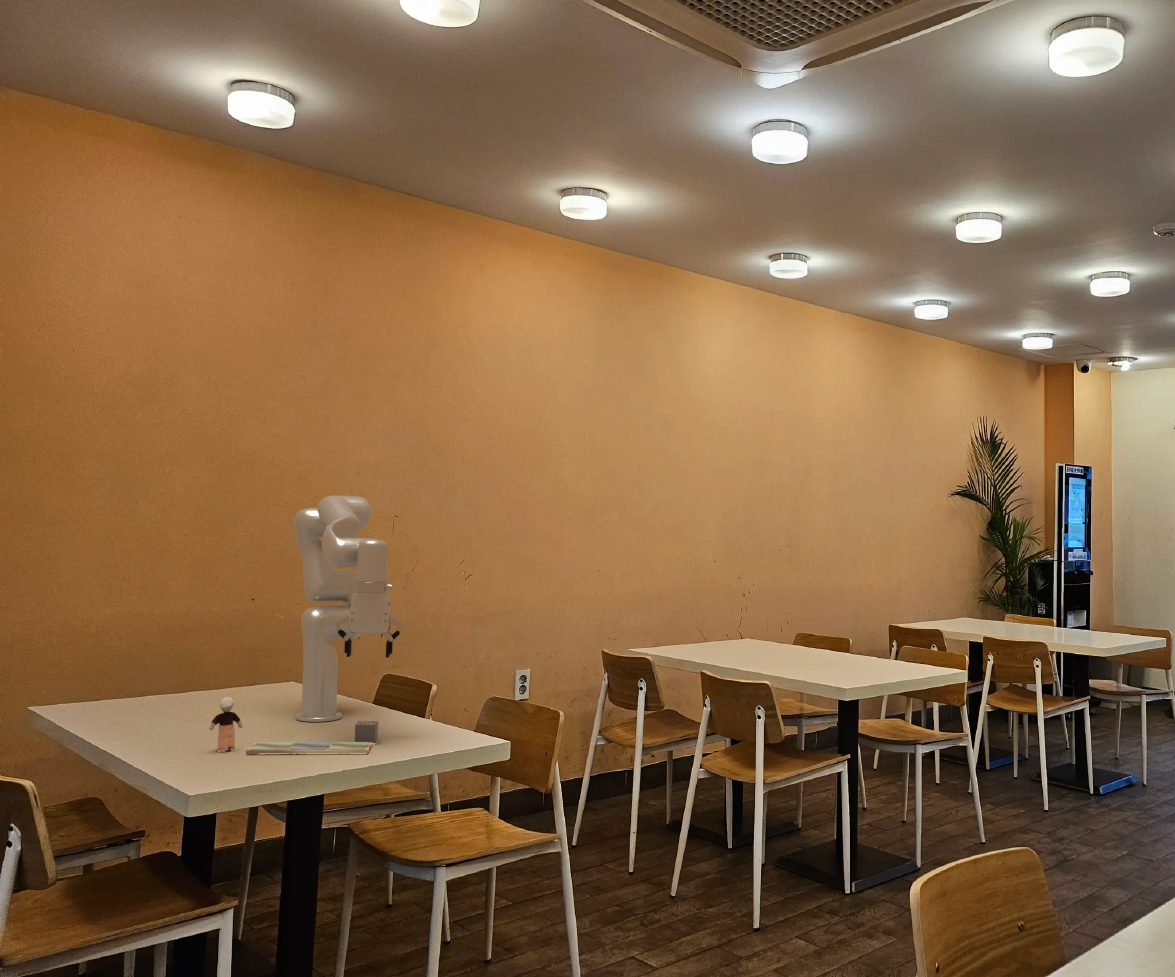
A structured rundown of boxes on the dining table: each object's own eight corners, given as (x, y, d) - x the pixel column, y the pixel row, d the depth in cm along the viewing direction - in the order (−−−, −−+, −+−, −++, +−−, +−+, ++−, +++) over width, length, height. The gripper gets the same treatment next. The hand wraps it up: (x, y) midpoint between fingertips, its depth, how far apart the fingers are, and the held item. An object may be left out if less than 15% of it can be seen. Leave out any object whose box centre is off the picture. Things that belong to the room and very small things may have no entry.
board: (254, 746, 232) (255, 741, 232) (372, 746, 235) (372, 741, 235) (245, 755, 223) (246, 749, 223) (367, 754, 226) (367, 749, 226)
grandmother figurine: (234, 747, 231) (237, 694, 232) (243, 749, 229) (245, 696, 230) (204, 752, 225) (207, 697, 226) (213, 754, 223) (215, 699, 224)
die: (357, 741, 242) (358, 720, 242) (377, 741, 242) (378, 720, 243) (354, 745, 237) (355, 724, 237) (374, 745, 237) (375, 724, 238)
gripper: (406, 588, 246) (404, 655, 246) (338, 586, 245) (335, 654, 244) (404, 590, 239) (401, 659, 238) (333, 588, 237) (330, 658, 236)
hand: (368, 656), depth 241 cm, fingers open, 9 cm apart
